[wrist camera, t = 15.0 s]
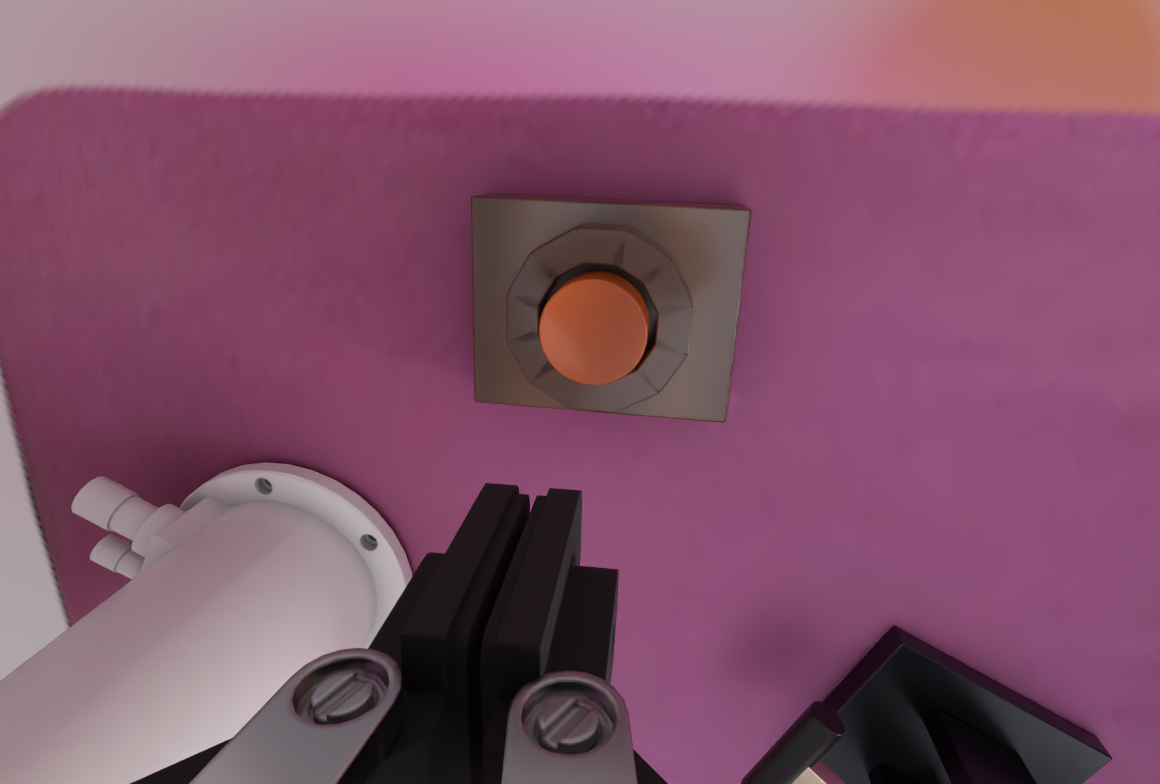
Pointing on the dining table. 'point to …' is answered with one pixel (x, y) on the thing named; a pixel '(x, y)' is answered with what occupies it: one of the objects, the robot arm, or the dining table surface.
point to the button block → (636, 253)
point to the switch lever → (801, 751)
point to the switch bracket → (948, 725)
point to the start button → (594, 328)
